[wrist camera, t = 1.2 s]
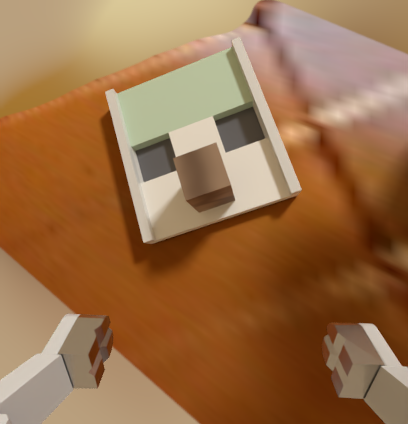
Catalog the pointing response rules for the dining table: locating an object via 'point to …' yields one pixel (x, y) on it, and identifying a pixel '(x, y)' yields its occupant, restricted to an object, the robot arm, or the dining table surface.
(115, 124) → the board
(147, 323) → the dining table surface
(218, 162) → the walnut block
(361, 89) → the dining table surface
